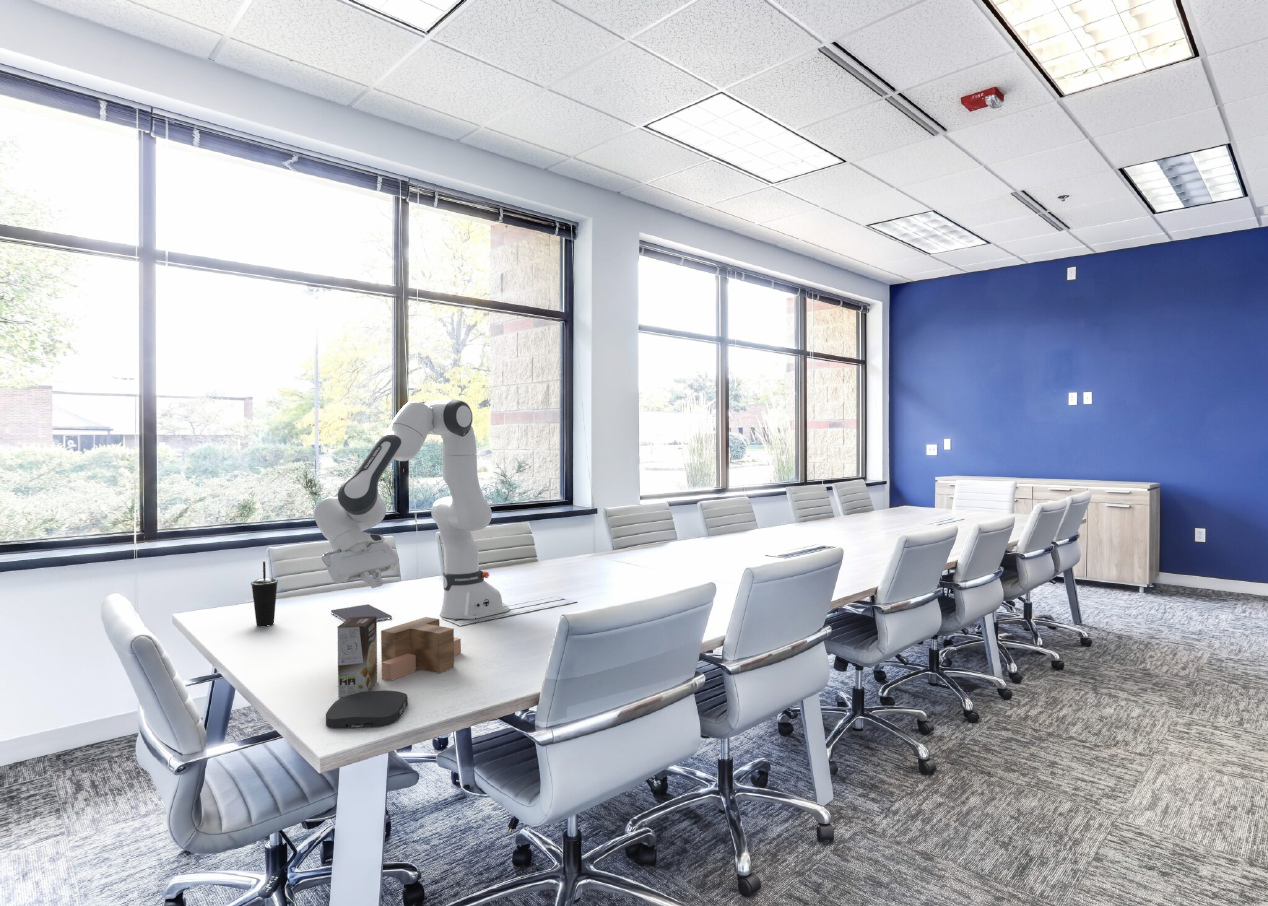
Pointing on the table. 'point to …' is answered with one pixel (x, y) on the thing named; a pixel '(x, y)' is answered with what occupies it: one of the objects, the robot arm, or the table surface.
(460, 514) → the robot arm
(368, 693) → the media streaming box
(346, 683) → the coffee box
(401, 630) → the t block
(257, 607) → the drinking cup
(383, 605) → the table surface
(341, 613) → the notebook
